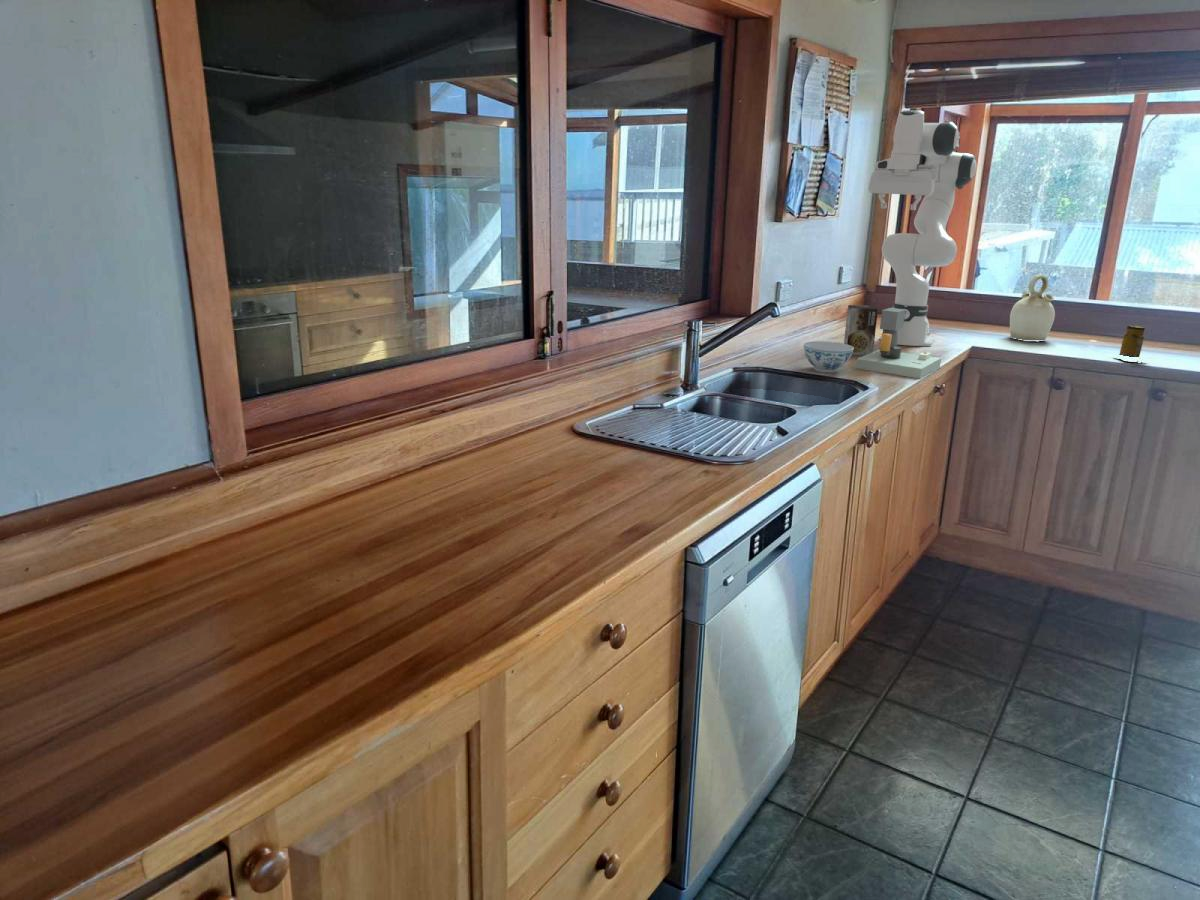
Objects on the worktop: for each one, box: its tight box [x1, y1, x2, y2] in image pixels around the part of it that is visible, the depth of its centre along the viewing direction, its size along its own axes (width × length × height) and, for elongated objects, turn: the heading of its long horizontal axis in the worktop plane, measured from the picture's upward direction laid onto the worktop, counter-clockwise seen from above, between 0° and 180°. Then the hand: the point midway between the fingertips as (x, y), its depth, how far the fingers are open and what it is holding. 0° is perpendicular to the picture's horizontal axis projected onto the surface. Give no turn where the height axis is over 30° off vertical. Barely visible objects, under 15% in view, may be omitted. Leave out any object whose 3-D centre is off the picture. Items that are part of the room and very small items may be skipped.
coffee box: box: [843, 304, 879, 356], centre depth 289 cm, size 9×6×16 cm
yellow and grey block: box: [879, 333, 902, 358], centre depth 269 cm, size 12×6×8 cm, turn 144°
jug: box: [1009, 274, 1056, 341], centre depth 328 cm, size 15×16×25 cm
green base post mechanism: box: [855, 307, 942, 379], centre depth 269 cm, size 22×20×17 cm
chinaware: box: [803, 340, 854, 373], centre depth 263 cm, size 15×15×8 cm
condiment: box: [1118, 324, 1146, 358], centre depth 295 cm, size 7×8×12 cm
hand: (898, 209), depth 276 cm, fingers open, 8 cm apart
